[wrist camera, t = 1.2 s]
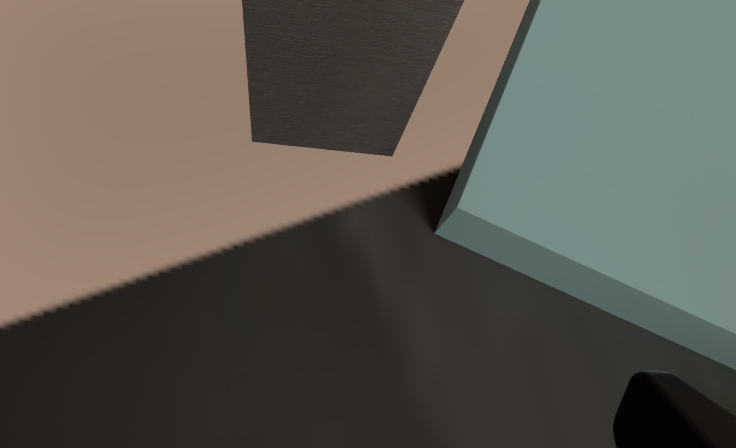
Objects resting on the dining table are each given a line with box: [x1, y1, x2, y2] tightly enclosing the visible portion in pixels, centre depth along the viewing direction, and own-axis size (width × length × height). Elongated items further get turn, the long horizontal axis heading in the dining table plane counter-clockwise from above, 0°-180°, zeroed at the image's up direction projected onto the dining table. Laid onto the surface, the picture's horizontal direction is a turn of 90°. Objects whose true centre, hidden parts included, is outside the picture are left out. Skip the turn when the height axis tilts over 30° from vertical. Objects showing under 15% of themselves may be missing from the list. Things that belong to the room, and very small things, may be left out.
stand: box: [435, 0, 736, 370], centre depth 24 cm, size 12×12×3 cm
